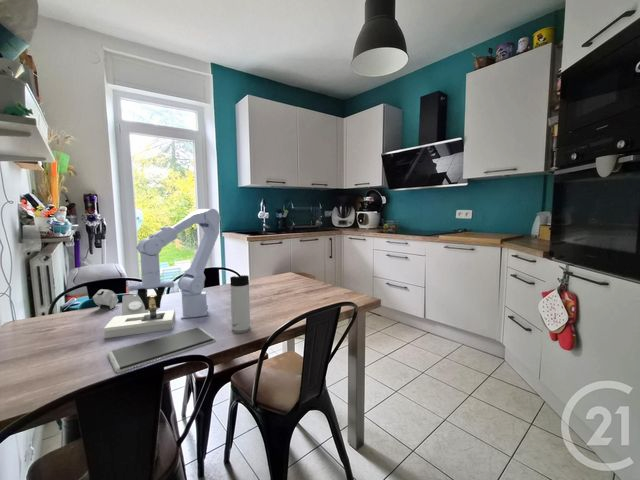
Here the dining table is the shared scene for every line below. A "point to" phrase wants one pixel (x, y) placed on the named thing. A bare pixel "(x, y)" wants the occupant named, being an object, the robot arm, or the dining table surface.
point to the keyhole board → (139, 324)
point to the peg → (152, 308)
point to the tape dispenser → (105, 299)
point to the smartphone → (158, 348)
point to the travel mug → (240, 304)
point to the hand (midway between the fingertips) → (152, 308)
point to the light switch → (132, 305)
